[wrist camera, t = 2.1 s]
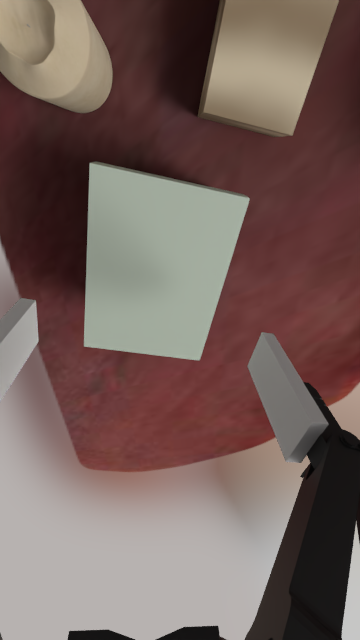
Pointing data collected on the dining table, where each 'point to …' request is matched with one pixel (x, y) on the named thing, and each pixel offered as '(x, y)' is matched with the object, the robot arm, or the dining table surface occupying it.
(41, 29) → the candle
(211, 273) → the lid
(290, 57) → the block
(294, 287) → the dining table surface
